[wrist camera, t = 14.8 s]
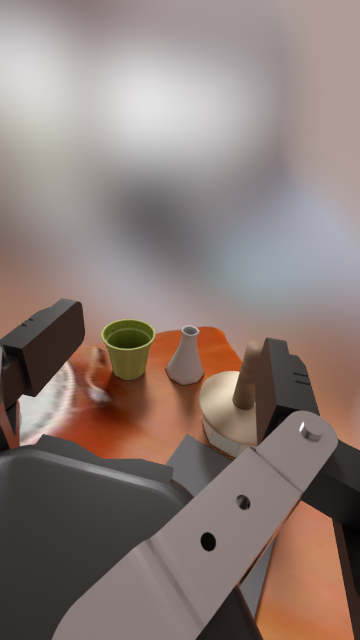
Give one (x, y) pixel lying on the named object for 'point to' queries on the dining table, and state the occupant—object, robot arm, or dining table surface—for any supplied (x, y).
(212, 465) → the mat
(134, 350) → the plant pot
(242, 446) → the bowl
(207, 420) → the lid
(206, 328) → the dining table surface
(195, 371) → the flask
